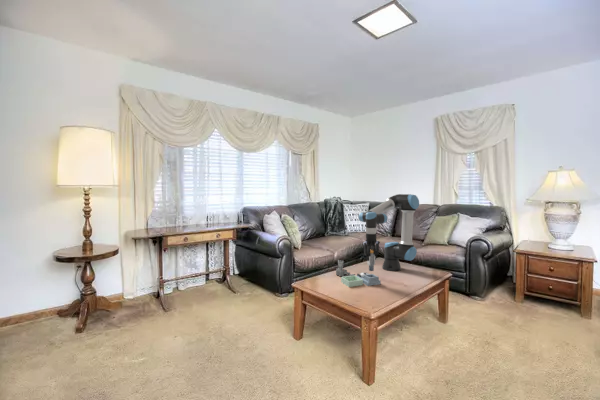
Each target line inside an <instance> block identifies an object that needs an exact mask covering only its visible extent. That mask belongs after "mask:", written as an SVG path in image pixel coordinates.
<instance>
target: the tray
mask: <svg viewBox="0 0 600 400" xmlns="http://www.w3.org/2000/svg"><path fill="white" fill-rule="evenodd" d="M340 278H341V279H340V280H341V281H340V282H341V283H342V284H343V285H345V286H347V287H348V288H350V287H351V288H352V287H358V286H363V285H364V284H363V280H362V279H360V278H359V277H357V275H356V274H355V275H354V276H345V277H342V276H340Z"/></svg>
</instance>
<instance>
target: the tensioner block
mask: <svg viewBox="0 0 600 400" xmlns="http://www.w3.org/2000/svg"><path fill="white" fill-rule="evenodd" d="M356 276H357V277H359V278H360V279H362V280H363V285H365V286H367V287H369V286H378V285H381V280H380V277H379V276H378V275H376V274H374V273H369V272H360V273H356Z"/></svg>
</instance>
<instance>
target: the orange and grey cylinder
mask: <svg viewBox="0 0 600 400" xmlns="http://www.w3.org/2000/svg"><path fill="white" fill-rule="evenodd" d="M369 256H370V265H368V271H370V272H374V270H375V267H374V266H375V265H374V250H372V249H370V255H369Z"/></svg>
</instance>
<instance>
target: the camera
mask: <svg viewBox="0 0 600 400" xmlns="http://www.w3.org/2000/svg"><path fill="white" fill-rule="evenodd" d="M337 265H338V267H337V268H335V269H336V270H335V274H336V275H335V276H339V277H345V276H354V275H355V276H356V273H351V272H350V271H349V272H348V270H347V269H345V268H344V260H342V259H338V260H337Z"/></svg>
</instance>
